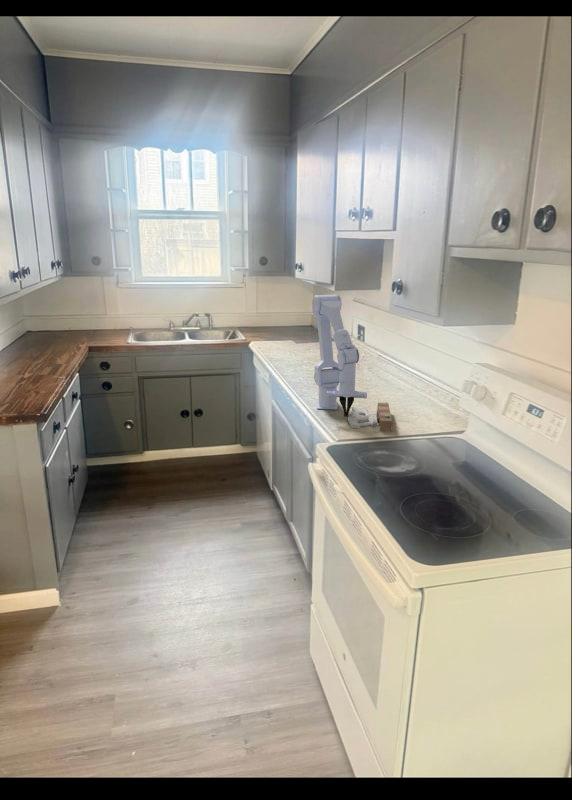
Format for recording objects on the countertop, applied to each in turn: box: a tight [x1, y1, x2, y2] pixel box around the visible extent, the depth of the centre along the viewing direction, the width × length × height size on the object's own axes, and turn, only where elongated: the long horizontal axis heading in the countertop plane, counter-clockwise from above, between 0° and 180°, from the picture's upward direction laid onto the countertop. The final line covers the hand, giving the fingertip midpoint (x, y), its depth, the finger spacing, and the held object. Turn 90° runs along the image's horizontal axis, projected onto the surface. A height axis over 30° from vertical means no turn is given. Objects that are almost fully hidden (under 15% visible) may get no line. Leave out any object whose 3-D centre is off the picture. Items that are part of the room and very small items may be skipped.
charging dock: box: [376, 402, 393, 432], centre depth 192 cm, size 20×5×4 cm, turn 173°
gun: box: [347, 405, 378, 430], centre depth 194 cm, size 18×4×10 cm
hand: (346, 416), depth 194 cm, fingers closed
